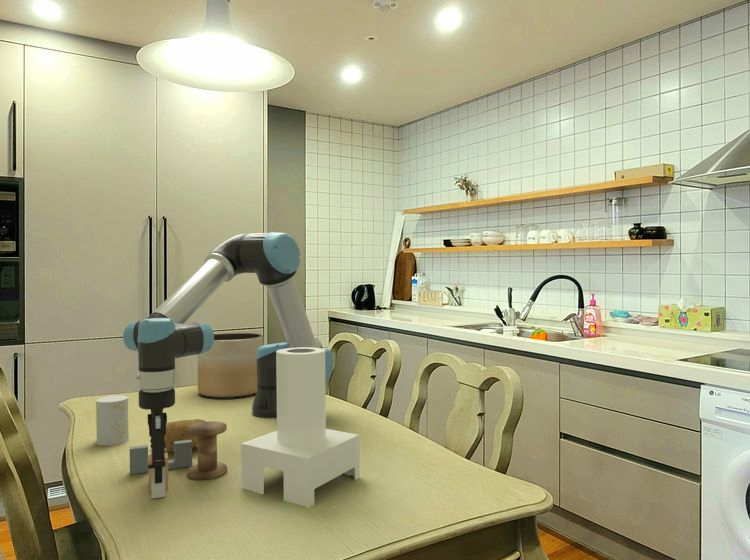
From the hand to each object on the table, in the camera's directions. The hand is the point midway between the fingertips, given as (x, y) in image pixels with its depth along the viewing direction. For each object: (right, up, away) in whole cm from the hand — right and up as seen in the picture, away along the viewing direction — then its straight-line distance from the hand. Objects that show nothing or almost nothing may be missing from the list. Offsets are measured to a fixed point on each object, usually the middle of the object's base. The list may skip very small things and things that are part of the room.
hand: (157, 486), depth 123 cm
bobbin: (+8, 0, +9) cm, 12 cm away
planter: (-8, +2, +95) cm, 96 cm away
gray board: (-4, 0, +12) cm, 12 cm away
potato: (-3, 0, +26) cm, 26 cm away
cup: (-26, 0, +34) cm, 42 cm away
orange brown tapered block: (0, 0, 0) cm, 0 cm away
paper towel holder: (+32, 0, +2) cm, 32 cm away
